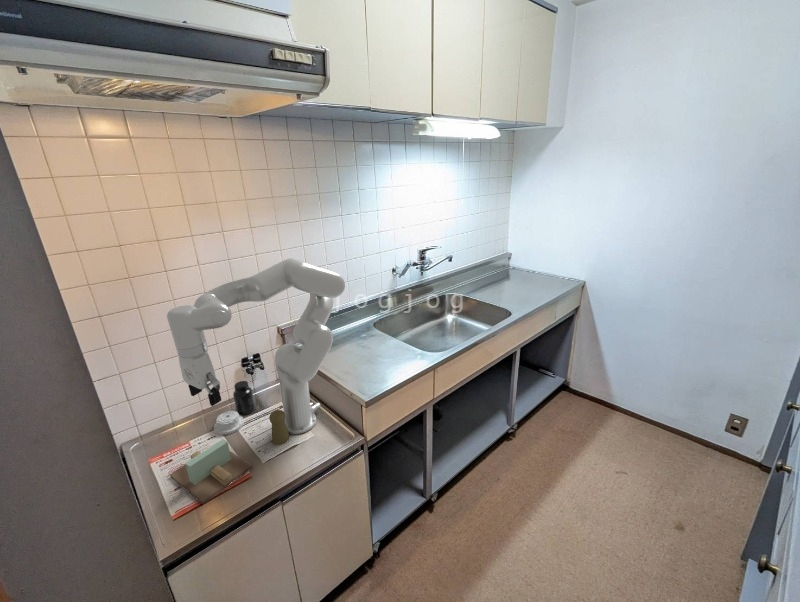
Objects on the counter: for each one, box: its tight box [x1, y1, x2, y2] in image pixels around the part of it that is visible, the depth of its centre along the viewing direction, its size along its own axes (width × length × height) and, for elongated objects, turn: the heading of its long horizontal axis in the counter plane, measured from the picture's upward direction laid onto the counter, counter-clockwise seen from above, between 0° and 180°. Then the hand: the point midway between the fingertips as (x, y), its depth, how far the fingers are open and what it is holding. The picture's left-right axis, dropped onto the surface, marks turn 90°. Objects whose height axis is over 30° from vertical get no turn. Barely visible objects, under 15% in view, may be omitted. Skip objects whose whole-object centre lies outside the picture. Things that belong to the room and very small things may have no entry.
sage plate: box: [184, 438, 231, 485], centre depth 113 cm, size 12×2×7 cm, turn 147°
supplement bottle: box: [232, 380, 256, 416], centre depth 142 cm, size 7×7×12 cm
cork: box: [268, 409, 291, 446], centre depth 127 cm, size 6×6×11 cm
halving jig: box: [169, 450, 253, 506], centre depth 115 cm, size 16×18×3 cm
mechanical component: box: [213, 409, 245, 436], centre depth 135 cm, size 10×4×10 cm
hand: (206, 398), depth 111 cm, fingers open, 9 cm apart
